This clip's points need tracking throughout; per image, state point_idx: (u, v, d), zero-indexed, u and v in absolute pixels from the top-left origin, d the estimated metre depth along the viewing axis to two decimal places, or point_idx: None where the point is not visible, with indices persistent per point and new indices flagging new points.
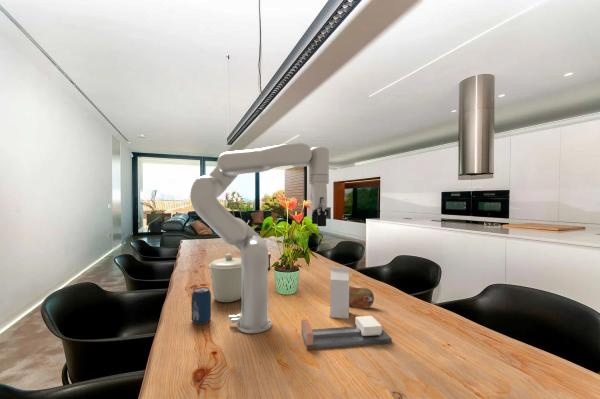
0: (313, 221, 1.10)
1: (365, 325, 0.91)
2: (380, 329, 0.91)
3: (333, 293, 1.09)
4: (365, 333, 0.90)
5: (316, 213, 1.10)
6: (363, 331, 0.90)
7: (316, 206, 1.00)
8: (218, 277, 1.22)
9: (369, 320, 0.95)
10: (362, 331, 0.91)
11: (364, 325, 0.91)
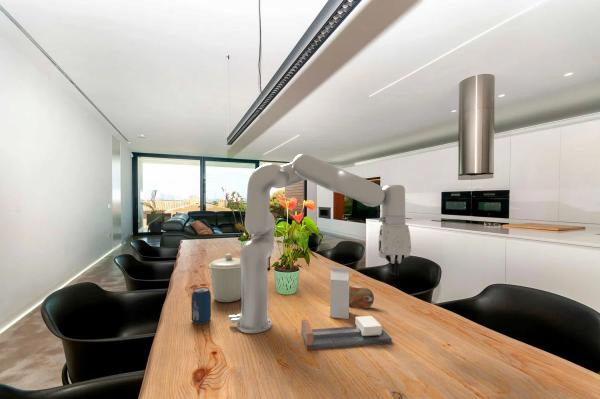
0: None
1: (365, 325, 0.91)
2: (380, 329, 0.91)
3: (333, 293, 1.09)
4: (365, 333, 0.90)
5: None
6: (363, 331, 0.90)
7: None
8: (218, 277, 1.22)
9: (369, 320, 0.95)
10: (362, 331, 0.91)
11: (364, 325, 0.91)
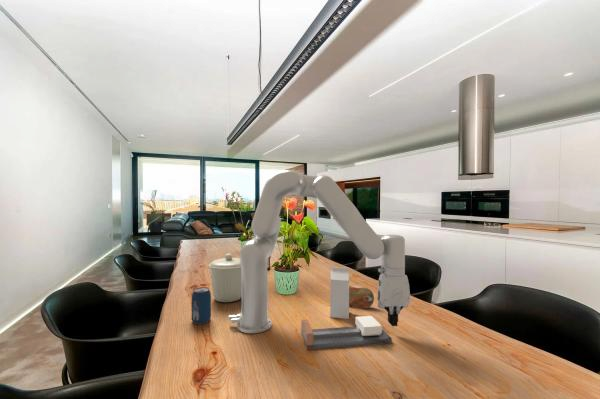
0: None
1: (365, 325, 0.91)
2: (380, 329, 0.91)
3: (333, 293, 1.09)
4: (365, 333, 0.90)
5: None
6: (363, 331, 0.90)
7: None
8: (218, 277, 1.22)
9: (369, 320, 0.95)
10: (362, 331, 0.91)
11: (364, 325, 0.91)
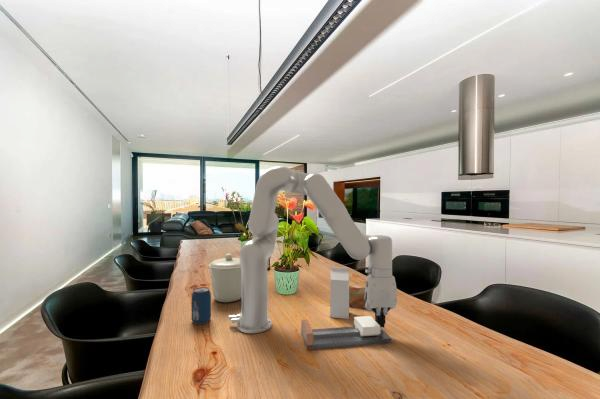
0: None
1: (364, 325, 0.91)
2: (379, 329, 0.90)
3: (333, 293, 1.09)
4: (364, 333, 0.90)
5: None
6: (362, 331, 0.90)
7: None
8: (218, 277, 1.22)
9: (368, 320, 0.95)
10: (361, 331, 0.91)
11: (363, 325, 0.91)
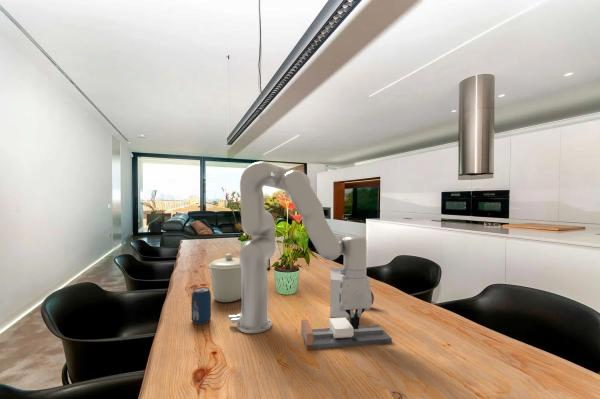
0: None
1: (337, 327, 0.89)
2: (352, 331, 0.89)
3: (333, 293, 1.09)
4: (336, 335, 0.88)
5: None
6: (334, 333, 0.89)
7: None
8: (218, 277, 1.22)
9: (342, 321, 0.93)
10: (334, 333, 0.90)
11: (336, 327, 0.89)
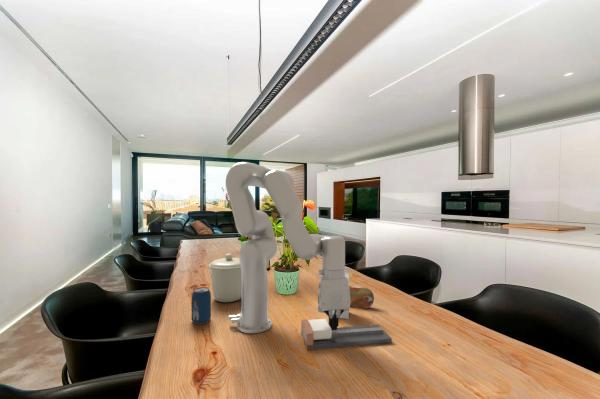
0: None
1: (315, 329, 0.88)
2: (330, 333, 0.88)
3: None
4: (314, 337, 0.87)
5: (332, 315, 0.92)
6: None
7: None
8: (218, 277, 1.22)
9: (321, 323, 0.92)
10: None
11: (314, 329, 0.88)
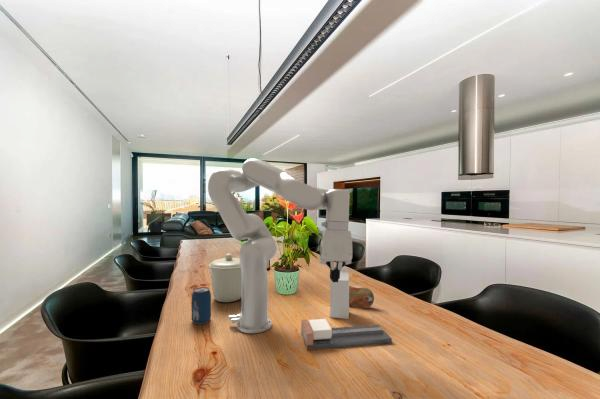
0: None
1: (315, 329, 0.88)
2: (330, 333, 0.88)
3: (333, 293, 1.09)
4: (314, 337, 0.87)
5: None
6: None
7: None
8: (218, 277, 1.22)
9: (321, 323, 0.92)
10: None
11: (314, 329, 0.88)
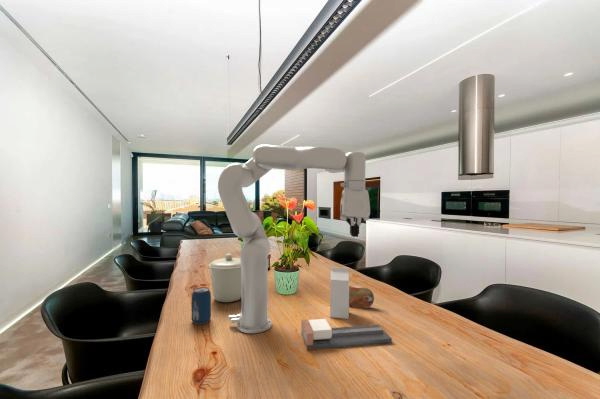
0: None
1: (315, 329, 0.88)
2: (330, 333, 0.88)
3: (333, 293, 1.09)
4: (314, 337, 0.87)
5: None
6: None
7: None
8: (218, 277, 1.22)
9: (321, 323, 0.92)
10: None
11: (314, 329, 0.88)
